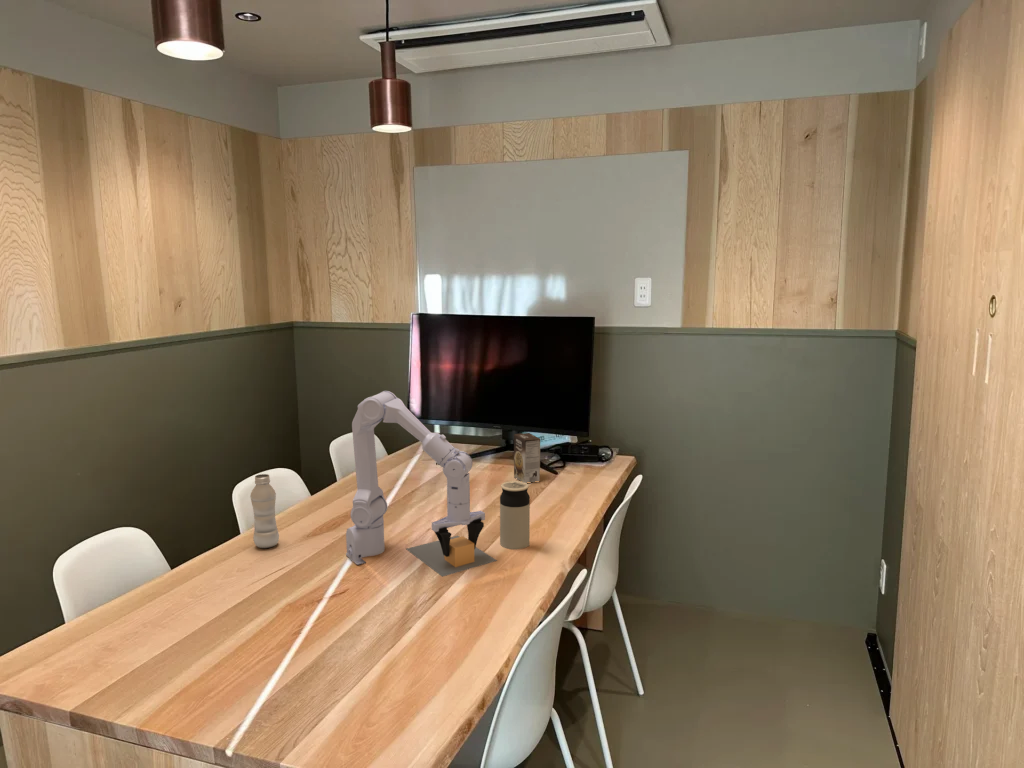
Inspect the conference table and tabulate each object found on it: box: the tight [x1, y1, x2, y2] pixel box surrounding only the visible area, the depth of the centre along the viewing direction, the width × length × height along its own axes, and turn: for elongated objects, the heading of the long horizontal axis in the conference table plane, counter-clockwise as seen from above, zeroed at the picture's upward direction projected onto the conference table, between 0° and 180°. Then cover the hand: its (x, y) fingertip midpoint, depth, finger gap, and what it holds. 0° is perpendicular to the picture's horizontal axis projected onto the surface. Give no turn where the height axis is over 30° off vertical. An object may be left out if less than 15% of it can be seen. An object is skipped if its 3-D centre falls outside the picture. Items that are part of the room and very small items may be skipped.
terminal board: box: [405, 535, 498, 577], centre depth 180 cm, size 16×20×5 cm
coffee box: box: [513, 432, 541, 483], centre depth 246 cm, size 9×6×16 cm
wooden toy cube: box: [444, 535, 474, 567], centre depth 177 cm, size 6×6×5 cm
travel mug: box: [499, 480, 531, 550], centre depth 187 cm, size 8×8×18 cm
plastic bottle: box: [249, 473, 280, 549], centre depth 188 cm, size 6×7×20 cm
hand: (459, 551), depth 177 cm, fingers open, 7 cm apart
